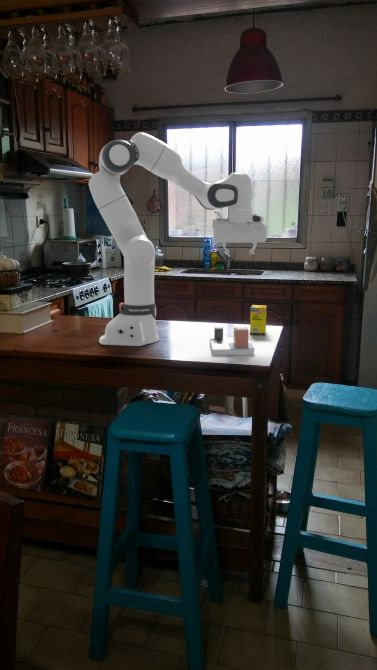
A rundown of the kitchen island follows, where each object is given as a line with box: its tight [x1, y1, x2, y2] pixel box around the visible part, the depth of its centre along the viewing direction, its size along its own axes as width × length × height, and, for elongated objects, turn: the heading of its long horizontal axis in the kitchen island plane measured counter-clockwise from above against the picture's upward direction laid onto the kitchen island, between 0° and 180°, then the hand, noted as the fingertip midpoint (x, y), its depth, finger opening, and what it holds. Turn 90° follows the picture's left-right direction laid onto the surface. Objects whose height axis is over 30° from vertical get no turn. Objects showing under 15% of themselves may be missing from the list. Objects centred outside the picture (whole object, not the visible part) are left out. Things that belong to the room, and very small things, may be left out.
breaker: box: [213, 326, 224, 340], centre depth 195 cm, size 3×2×4 cm
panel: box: [209, 337, 255, 356], centre depth 190 cm, size 14×17×2 cm
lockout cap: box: [233, 326, 250, 348], centre depth 185 cm, size 4×4×6 cm
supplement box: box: [249, 304, 267, 336], centre depth 213 cm, size 6×6×11 cm
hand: (239, 254), depth 207 cm, fingers open, 8 cm apart
